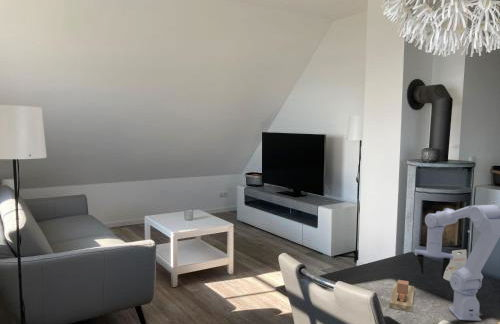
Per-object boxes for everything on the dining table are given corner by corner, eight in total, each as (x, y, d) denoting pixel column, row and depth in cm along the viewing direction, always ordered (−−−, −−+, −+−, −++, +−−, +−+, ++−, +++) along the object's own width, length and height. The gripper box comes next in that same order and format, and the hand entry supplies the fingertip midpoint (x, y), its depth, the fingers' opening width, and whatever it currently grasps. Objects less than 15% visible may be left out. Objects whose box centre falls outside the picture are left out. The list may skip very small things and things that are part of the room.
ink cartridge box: (457, 276, 194) (459, 246, 192) (465, 280, 189) (467, 249, 187) (442, 278, 191) (444, 247, 190) (450, 282, 186) (452, 250, 185)
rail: (414, 290, 176) (414, 286, 176) (411, 311, 156) (411, 306, 156) (394, 287, 179) (394, 283, 179) (389, 307, 159) (389, 302, 159)
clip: (407, 300, 166) (408, 280, 165) (406, 307, 160) (408, 286, 159) (397, 298, 168) (398, 278, 167) (396, 305, 162) (397, 284, 161)
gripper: (453, 242, 170) (451, 273, 171) (415, 237, 176) (414, 268, 177) (454, 246, 163) (452, 279, 165) (415, 241, 169) (413, 273, 170)
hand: (432, 273), depth 170 cm, fingers open, 7 cm apart
